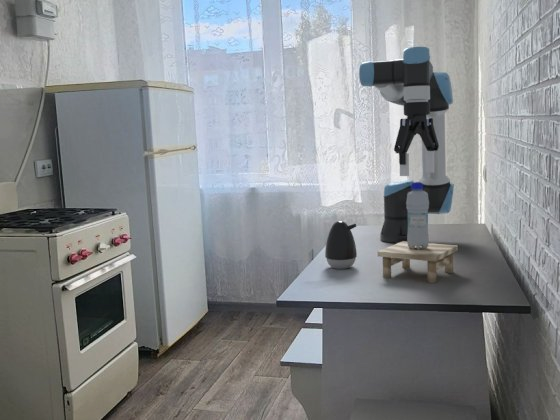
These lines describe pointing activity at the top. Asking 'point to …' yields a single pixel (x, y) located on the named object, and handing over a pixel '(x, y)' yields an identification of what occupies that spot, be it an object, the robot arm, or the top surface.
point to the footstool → (419, 257)
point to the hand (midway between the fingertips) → (417, 174)
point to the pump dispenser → (341, 246)
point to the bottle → (417, 217)
